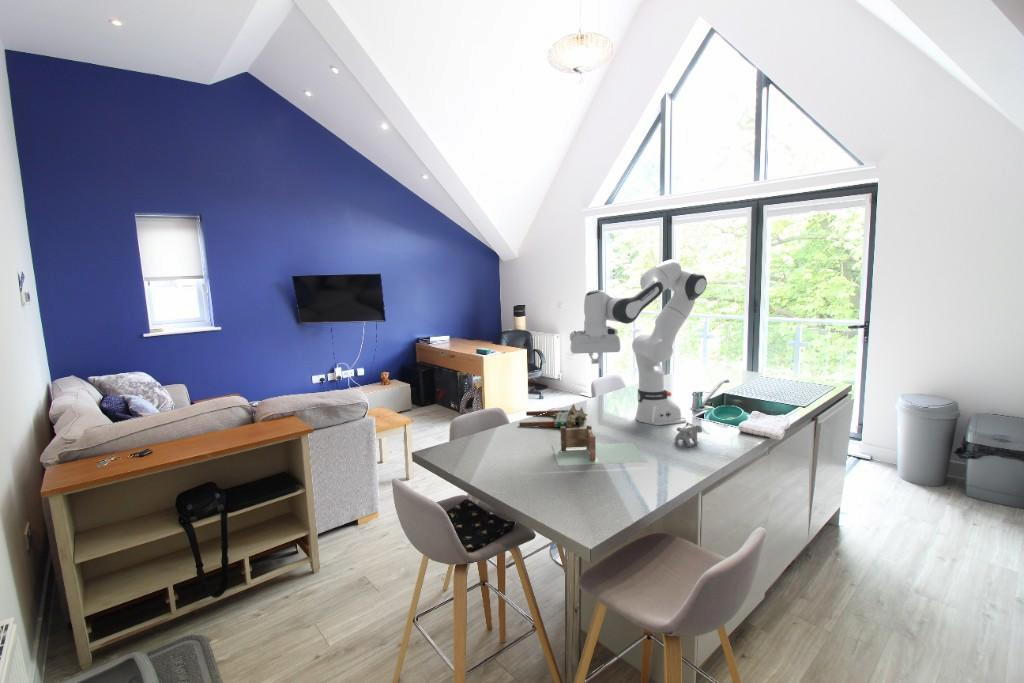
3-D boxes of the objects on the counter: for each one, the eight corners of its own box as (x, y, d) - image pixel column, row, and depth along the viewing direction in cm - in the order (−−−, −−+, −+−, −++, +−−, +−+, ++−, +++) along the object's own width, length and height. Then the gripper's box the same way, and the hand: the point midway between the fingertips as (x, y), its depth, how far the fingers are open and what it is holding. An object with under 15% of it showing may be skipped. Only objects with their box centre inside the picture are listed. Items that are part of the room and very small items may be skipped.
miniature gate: (527, 406, 242) (588, 403, 235) (528, 416, 242) (589, 414, 236) (517, 422, 216) (584, 419, 209) (518, 434, 216) (585, 432, 210)
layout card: (631, 443, 193) (631, 442, 193) (647, 462, 174) (647, 461, 174) (551, 447, 192) (551, 445, 192) (558, 466, 172) (558, 465, 172)
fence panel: (587, 449, 186) (587, 427, 185) (591, 449, 186) (591, 427, 185) (590, 460, 175) (590, 437, 174) (595, 460, 175) (595, 436, 174)
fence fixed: (591, 448, 189) (591, 425, 188) (592, 449, 187) (592, 426, 186) (560, 449, 188) (560, 426, 187) (561, 451, 186) (561, 428, 185)
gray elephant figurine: (671, 445, 192) (672, 426, 190) (683, 435, 201) (684, 417, 199) (695, 450, 186) (695, 431, 184) (706, 440, 195) (706, 422, 193)
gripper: (571, 331, 194) (571, 365, 196) (621, 330, 195) (621, 363, 197) (568, 330, 201) (569, 363, 202) (617, 328, 201) (617, 361, 203)
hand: (595, 363), depth 200 cm, fingers closed
